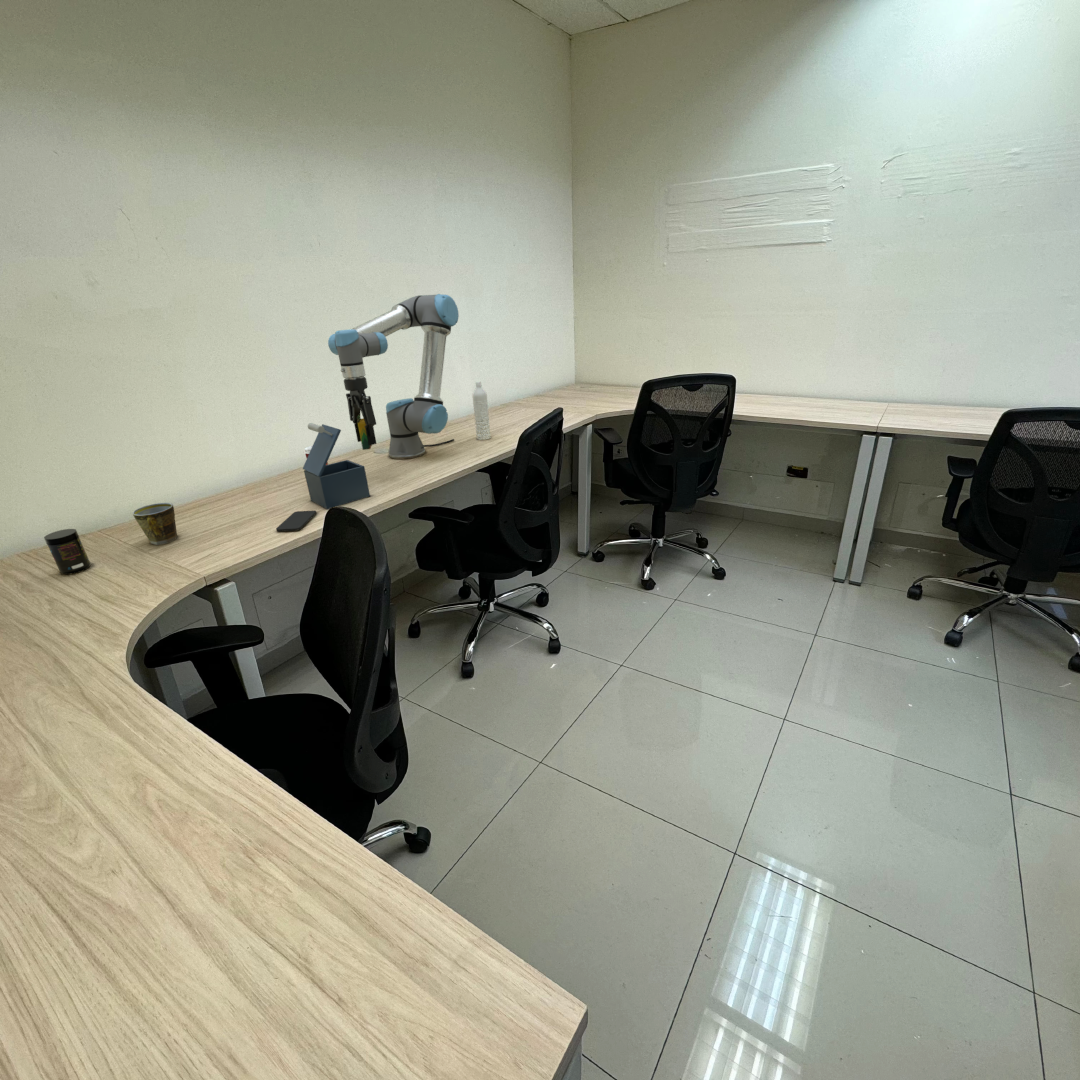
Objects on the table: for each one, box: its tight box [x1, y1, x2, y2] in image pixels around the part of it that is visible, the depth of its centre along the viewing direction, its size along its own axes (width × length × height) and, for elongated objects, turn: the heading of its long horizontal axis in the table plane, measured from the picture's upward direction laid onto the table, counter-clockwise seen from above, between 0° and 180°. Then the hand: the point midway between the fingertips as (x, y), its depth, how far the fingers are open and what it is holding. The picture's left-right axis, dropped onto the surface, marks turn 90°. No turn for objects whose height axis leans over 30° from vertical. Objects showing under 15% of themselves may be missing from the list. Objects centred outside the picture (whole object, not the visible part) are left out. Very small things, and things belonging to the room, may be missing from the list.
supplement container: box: [43, 528, 91, 575], centre depth 146 cm, size 7×7×10 cm
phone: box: [275, 510, 317, 532], centre depth 171 cm, size 7×1×15 cm
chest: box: [303, 459, 371, 510], centre depth 187 cm, size 16×13×11 cm
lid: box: [302, 422, 342, 477], centre depth 178 cm, size 16×13×6 cm
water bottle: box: [472, 381, 492, 441], centre depth 252 cm, size 9×6×25 cm
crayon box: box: [357, 413, 373, 451], centre depth 198 cm, size 7×3×12 cm, turn 9°
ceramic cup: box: [132, 502, 178, 546], centre depth 160 cm, size 13×10×10 cm
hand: (367, 442), depth 199 cm, fingers closed on crayon box, 7 cm apart
